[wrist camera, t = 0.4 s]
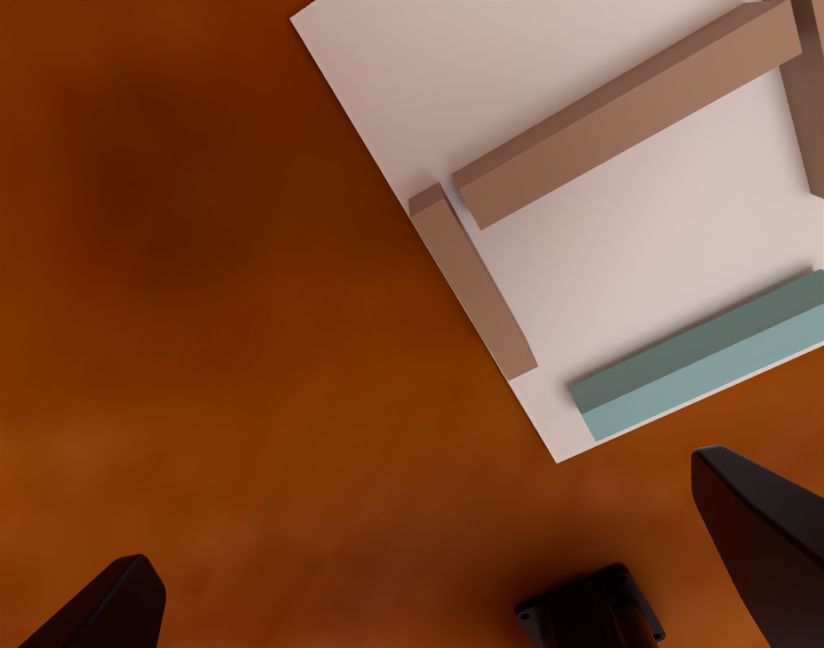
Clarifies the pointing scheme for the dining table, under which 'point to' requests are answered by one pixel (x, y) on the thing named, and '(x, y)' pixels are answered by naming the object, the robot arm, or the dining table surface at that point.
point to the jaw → (704, 357)
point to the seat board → (591, 166)
